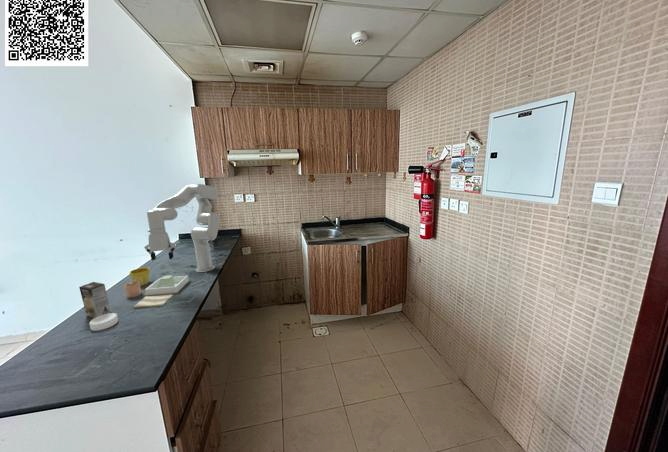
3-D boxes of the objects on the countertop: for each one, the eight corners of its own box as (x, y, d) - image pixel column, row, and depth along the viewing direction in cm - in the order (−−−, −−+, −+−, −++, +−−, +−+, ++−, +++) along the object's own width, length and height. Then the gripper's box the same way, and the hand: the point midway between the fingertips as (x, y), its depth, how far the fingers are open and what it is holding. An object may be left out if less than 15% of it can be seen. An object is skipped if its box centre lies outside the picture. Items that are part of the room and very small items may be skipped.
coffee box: (85, 316, 132) (78, 286, 129) (100, 310, 138) (93, 281, 135) (97, 319, 129) (90, 288, 126) (112, 312, 135) (105, 283, 132)
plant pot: (156, 281, 174) (153, 267, 171) (143, 288, 163) (140, 273, 161) (141, 281, 175) (138, 267, 173) (128, 288, 165) (125, 273, 162)
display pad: (146, 297, 150) (145, 296, 150) (174, 295, 152) (173, 293, 152) (133, 308, 138) (132, 306, 138) (163, 305, 140) (163, 304, 140)
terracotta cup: (131, 293, 156) (129, 281, 154) (144, 292, 157) (141, 280, 155) (124, 299, 149) (121, 286, 148) (137, 298, 150) (134, 285, 148)
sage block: (166, 286, 163) (164, 275, 161) (174, 285, 163) (172, 275, 162) (162, 290, 158) (160, 279, 156) (170, 289, 158) (168, 278, 157)
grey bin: (161, 284, 168) (159, 277, 167) (189, 282, 170) (188, 275, 169) (145, 296, 151) (144, 289, 151) (177, 294, 153) (175, 286, 152)
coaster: (109, 329, 120) (107, 322, 120) (85, 332, 119) (83, 325, 118) (122, 317, 130) (121, 311, 129) (100, 320, 128) (98, 314, 128)
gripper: (138, 233, 148) (143, 262, 152) (170, 231, 150) (175, 260, 154) (145, 230, 156) (150, 258, 159) (176, 228, 158) (180, 256, 161)
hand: (162, 259), depth 156 cm, fingers open, 9 cm apart
